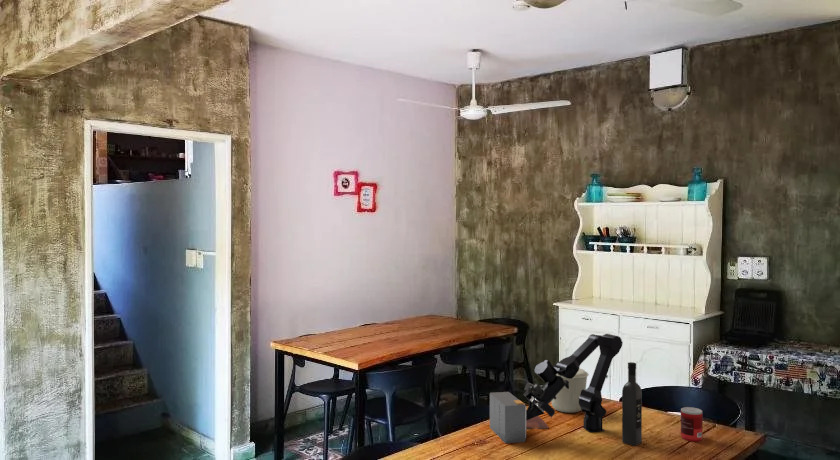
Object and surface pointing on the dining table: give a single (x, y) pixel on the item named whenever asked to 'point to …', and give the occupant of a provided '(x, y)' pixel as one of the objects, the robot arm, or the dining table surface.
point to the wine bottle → (631, 409)
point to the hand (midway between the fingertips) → (524, 419)
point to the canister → (571, 393)
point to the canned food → (691, 424)
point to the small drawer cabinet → (507, 417)
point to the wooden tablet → (536, 423)
